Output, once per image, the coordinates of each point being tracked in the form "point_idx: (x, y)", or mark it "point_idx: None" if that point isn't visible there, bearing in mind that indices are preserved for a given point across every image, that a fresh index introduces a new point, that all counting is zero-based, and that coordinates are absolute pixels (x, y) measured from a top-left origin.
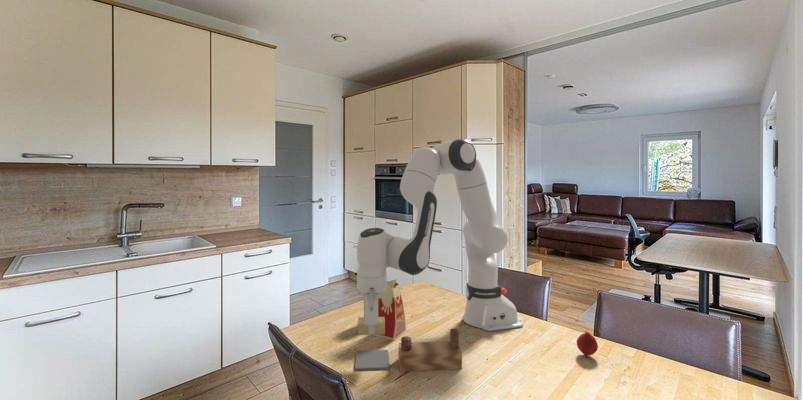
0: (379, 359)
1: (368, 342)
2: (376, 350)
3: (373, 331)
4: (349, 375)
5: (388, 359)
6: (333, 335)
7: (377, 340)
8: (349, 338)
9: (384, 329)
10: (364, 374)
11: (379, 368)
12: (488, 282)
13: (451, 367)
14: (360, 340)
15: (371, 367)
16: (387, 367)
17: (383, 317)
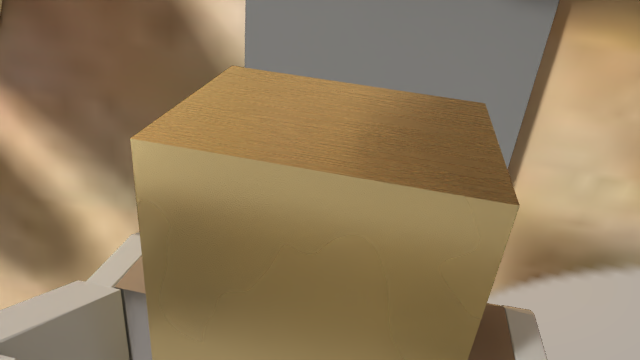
0: (404, 60)
1: (99, 98)
2: (249, 62)
3: (531, 336)
4: (529, 280)
5: None
6: (30, 293)
7: (61, 20)
8: (55, 215)
9: (493, 145)
10: (557, 194)
11: (533, 78)
12: None
13: None
14: (75, 150)
15: (512, 144)
16: (556, 6)
17: (176, 172)
